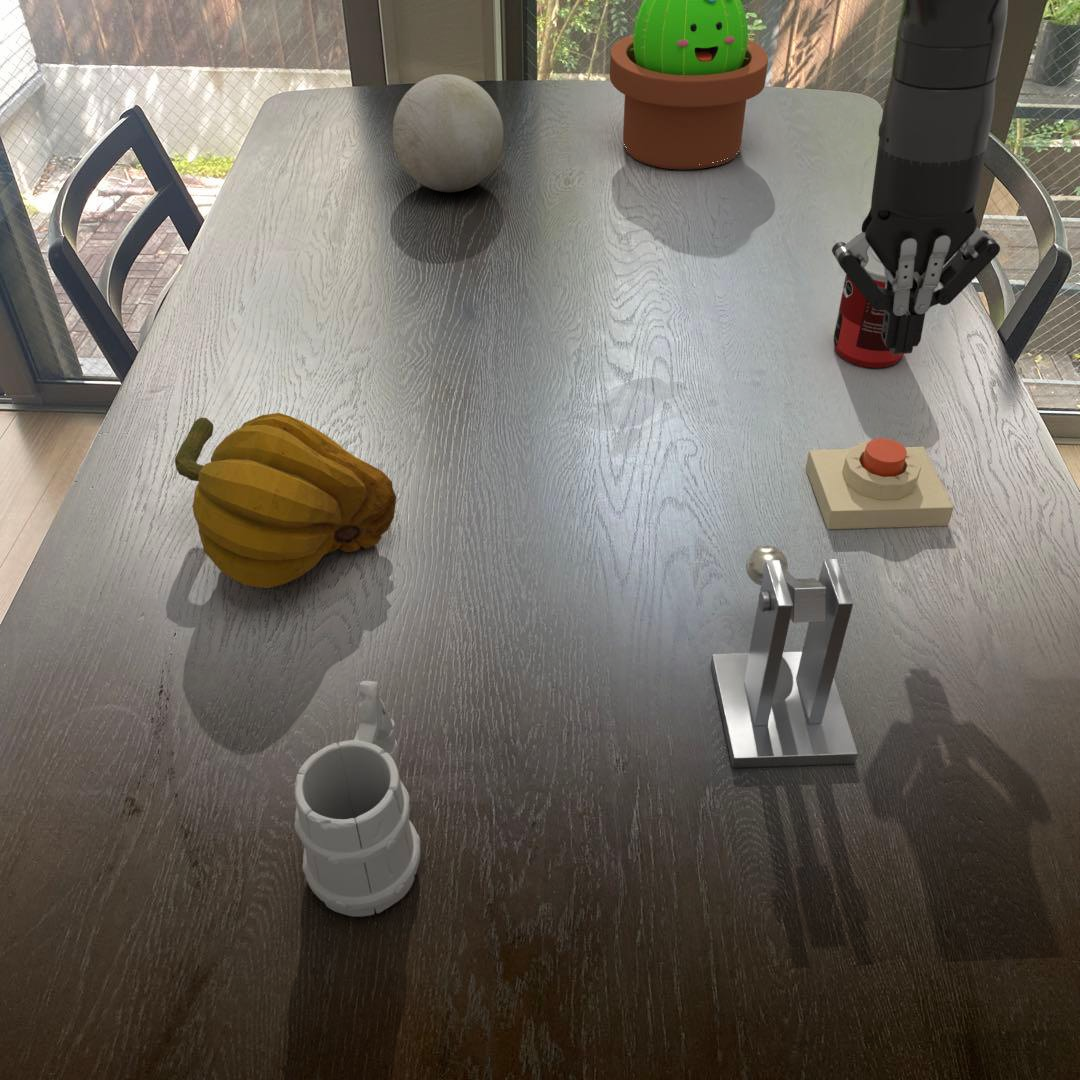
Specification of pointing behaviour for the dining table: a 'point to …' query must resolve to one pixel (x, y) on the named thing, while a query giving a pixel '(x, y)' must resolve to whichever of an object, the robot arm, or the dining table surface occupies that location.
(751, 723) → the metal lever switch
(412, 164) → the decorative sphere
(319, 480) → the pumpkin
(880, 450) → the button
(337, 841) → the mug
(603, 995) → the dining table surface
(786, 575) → the grey lever handle
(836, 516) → the button box
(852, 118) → the dining table surface
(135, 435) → the dining table surface
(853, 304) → the canned food
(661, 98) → the potted cactus
